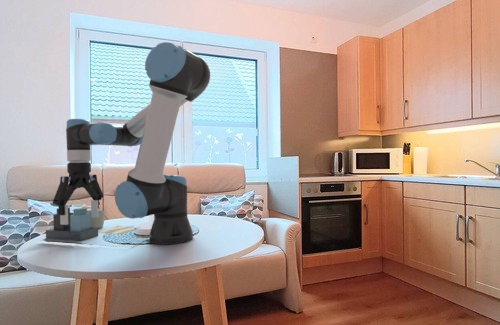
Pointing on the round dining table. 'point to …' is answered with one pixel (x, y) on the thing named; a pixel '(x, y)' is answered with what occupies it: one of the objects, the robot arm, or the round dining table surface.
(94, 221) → the teacup
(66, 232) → the dark grey block holder
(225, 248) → the round dining table surface
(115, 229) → the board
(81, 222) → the plug
